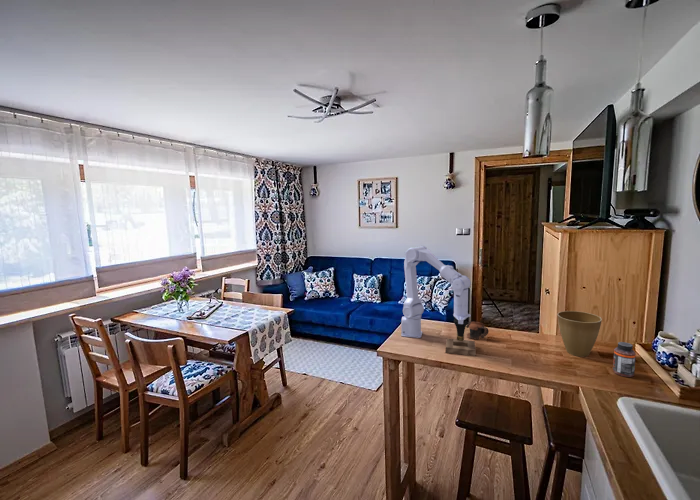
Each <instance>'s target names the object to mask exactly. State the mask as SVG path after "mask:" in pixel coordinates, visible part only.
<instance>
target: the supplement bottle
mask: <svg viewBox="0 0 700 500" xmlns="http://www.w3.org/2000/svg"><path fill="white" fill-rule="evenodd" d="M633 347H634V346H633V344H631V343H630V342H625V341H619V342H617V346H616V347H615V348H614V349H613V363H612V370H613V373H614V374H616V375H619V376H621V377H624V378H632V377H634V376H635V371H636V369H635V368H636V366H635V365H636V356H637V355H636V351H634V350H633Z"/></svg>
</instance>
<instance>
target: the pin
mask: <svg viewBox="0 0 700 500" xmlns="http://www.w3.org/2000/svg"><path fill="white" fill-rule="evenodd" d="M456 339H457V340H459V341H463V340H465V334H464V335H463V337H461V336H458V334H457V333H456Z"/></svg>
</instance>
